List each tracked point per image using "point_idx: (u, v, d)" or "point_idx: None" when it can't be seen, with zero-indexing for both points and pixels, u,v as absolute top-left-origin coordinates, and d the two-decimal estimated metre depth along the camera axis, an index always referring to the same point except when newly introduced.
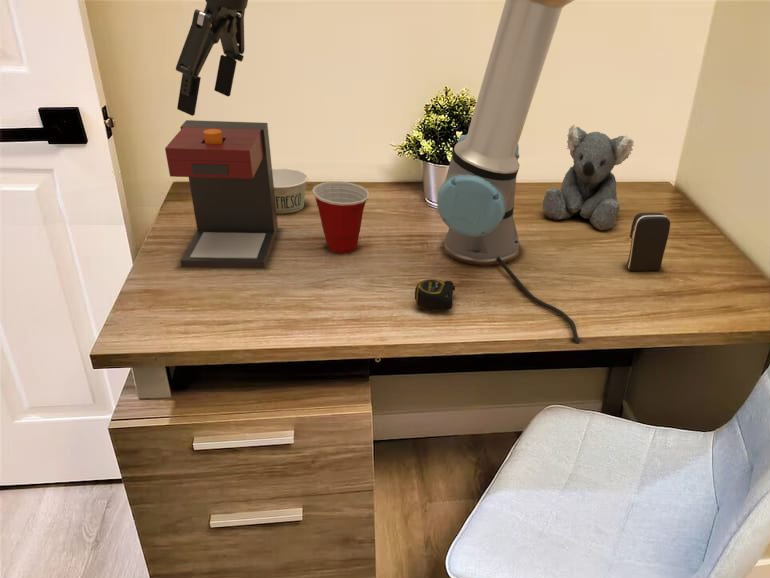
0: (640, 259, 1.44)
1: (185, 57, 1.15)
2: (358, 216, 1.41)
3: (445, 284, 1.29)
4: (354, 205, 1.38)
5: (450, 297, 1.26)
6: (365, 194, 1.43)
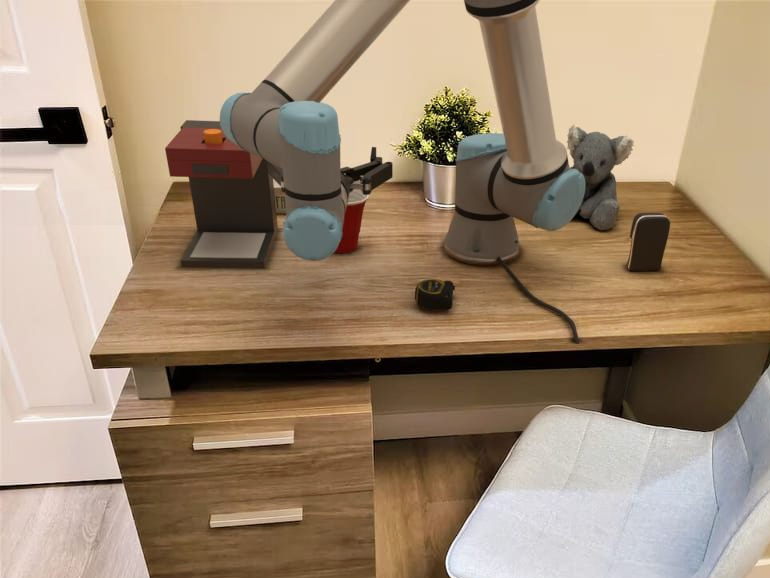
0: (640, 259, 1.44)
1: (387, 175, 1.20)
2: (358, 216, 1.41)
3: (445, 284, 1.29)
4: (354, 205, 1.38)
5: (450, 297, 1.26)
6: None
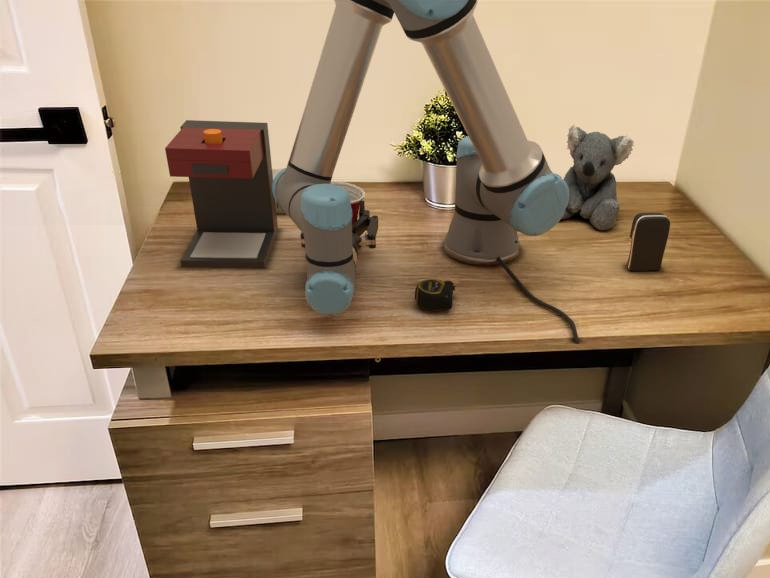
0: (640, 259, 1.44)
1: (377, 228, 1.41)
2: (355, 216, 1.42)
3: (445, 284, 1.29)
4: (351, 204, 1.38)
5: (450, 297, 1.26)
6: (360, 193, 1.43)
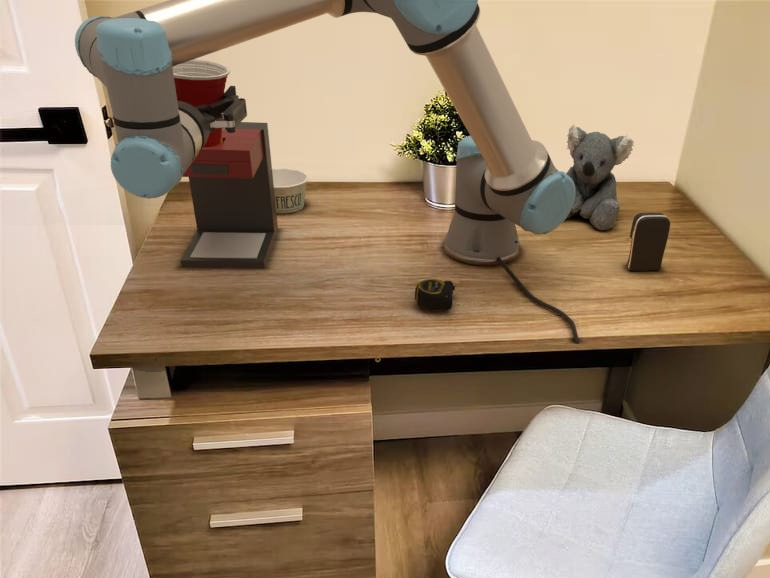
0: (640, 259, 1.44)
1: (243, 113, 1.12)
2: (217, 98, 1.13)
3: (445, 284, 1.29)
4: (208, 81, 1.10)
5: (450, 297, 1.26)
6: (225, 72, 1.15)
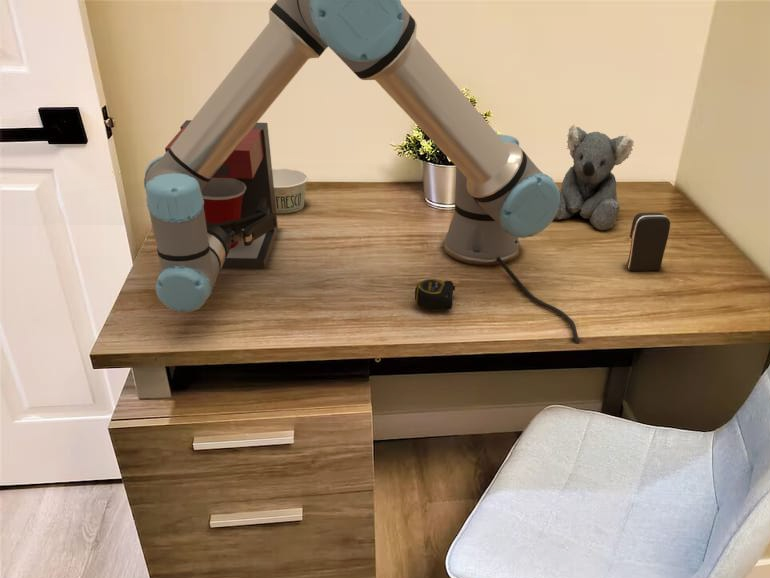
0: (640, 259, 1.44)
1: (270, 226, 1.33)
2: (235, 211, 1.36)
3: (445, 284, 1.29)
4: (229, 199, 1.32)
5: (450, 297, 1.26)
6: (242, 188, 1.37)
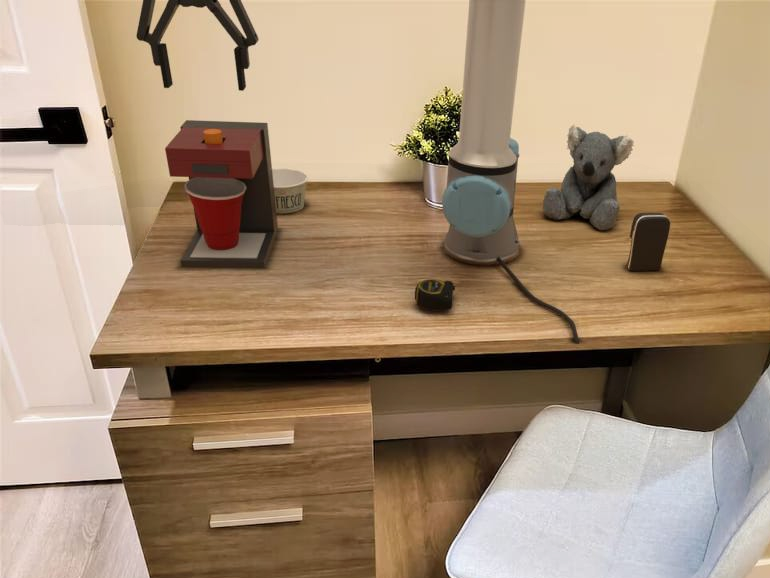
0: (640, 259, 1.44)
1: None
2: (235, 211, 1.36)
3: (445, 284, 1.29)
4: (229, 199, 1.32)
5: (450, 297, 1.26)
6: (242, 188, 1.37)
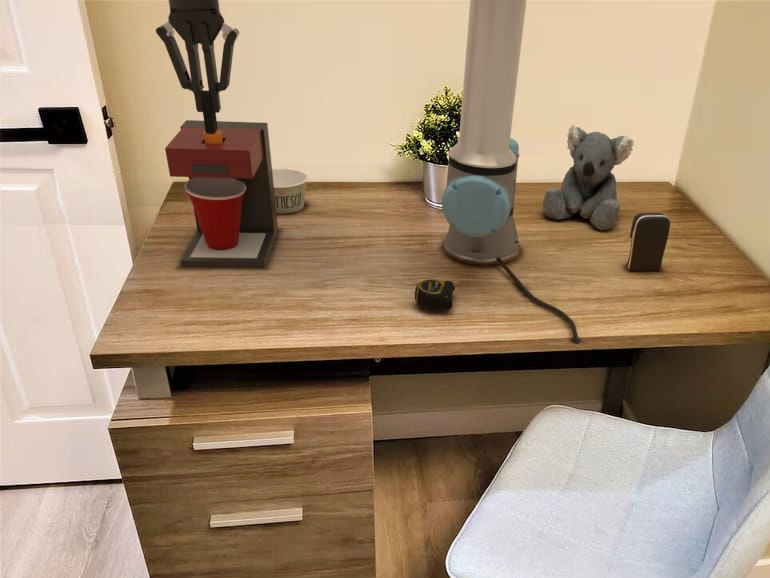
0: (640, 259, 1.44)
1: None
2: (235, 211, 1.36)
3: (445, 284, 1.29)
4: (229, 199, 1.32)
5: (450, 297, 1.26)
6: (242, 188, 1.37)
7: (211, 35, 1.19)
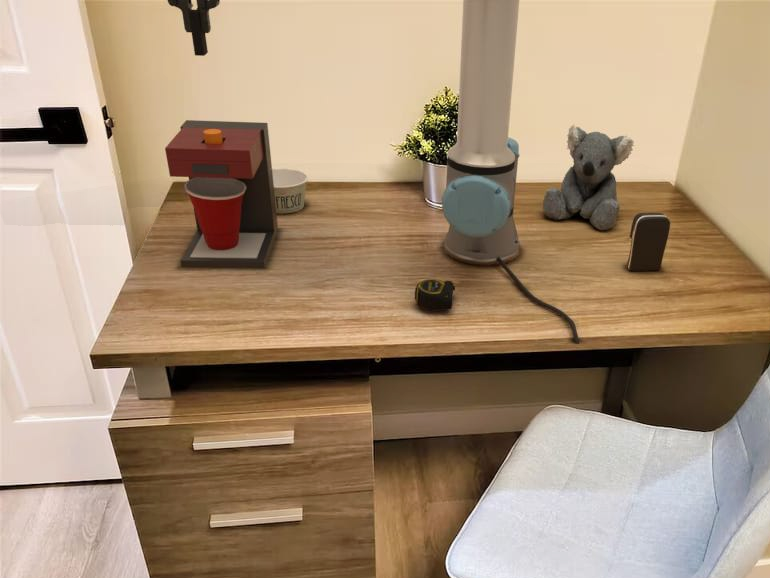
0: (640, 259, 1.44)
1: None
2: (235, 211, 1.36)
3: (445, 284, 1.29)
4: (229, 199, 1.32)
5: (450, 297, 1.26)
6: (242, 188, 1.37)
7: None
